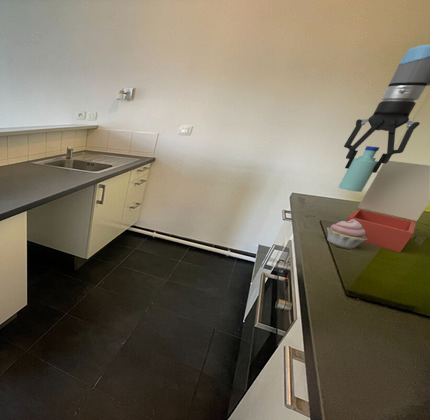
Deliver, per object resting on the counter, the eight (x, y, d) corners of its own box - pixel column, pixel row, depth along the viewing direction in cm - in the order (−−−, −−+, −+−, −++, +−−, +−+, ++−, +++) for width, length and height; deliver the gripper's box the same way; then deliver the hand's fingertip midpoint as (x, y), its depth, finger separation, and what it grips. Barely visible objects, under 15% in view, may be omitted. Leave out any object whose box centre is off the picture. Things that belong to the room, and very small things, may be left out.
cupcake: (315, 236, 90) (328, 211, 86) (349, 242, 86) (364, 217, 82) (328, 248, 82) (343, 221, 78) (366, 255, 78) (384, 228, 74)
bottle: (358, 189, 93) (382, 147, 86) (364, 192, 88) (390, 148, 82) (336, 185, 96) (357, 145, 90) (341, 189, 91) (363, 146, 85)
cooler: (398, 254, 80) (413, 233, 77) (337, 236, 91) (348, 217, 87) (402, 241, 89) (416, 222, 86) (346, 226, 100) (357, 208, 97)
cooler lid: (452, 168, 79) (452, 168, 80) (385, 160, 90) (385, 160, 91) (416, 221, 86) (416, 220, 86) (357, 207, 97) (358, 207, 97)
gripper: (353, 100, 85) (321, 165, 94) (449, 100, 71) (401, 177, 80) (357, 101, 89) (326, 164, 98) (449, 102, 75) (403, 175, 84)
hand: (360, 170), depth 89 cm, fingers closed on bottle, 6 cm apart
